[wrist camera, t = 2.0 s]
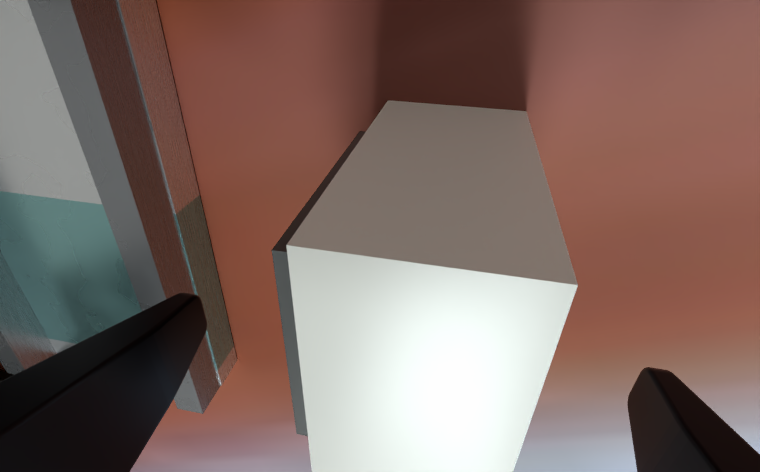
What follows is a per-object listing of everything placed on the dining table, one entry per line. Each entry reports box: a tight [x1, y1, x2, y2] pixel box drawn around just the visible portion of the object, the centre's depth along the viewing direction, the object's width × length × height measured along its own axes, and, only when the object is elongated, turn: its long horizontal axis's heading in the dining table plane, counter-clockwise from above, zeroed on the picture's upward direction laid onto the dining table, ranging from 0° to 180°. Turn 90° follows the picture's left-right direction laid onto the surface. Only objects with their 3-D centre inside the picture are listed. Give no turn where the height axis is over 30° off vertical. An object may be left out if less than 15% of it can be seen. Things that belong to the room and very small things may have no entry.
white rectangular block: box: [272, 100, 578, 472], centre depth 11 cm, size 6×4×8 cm
